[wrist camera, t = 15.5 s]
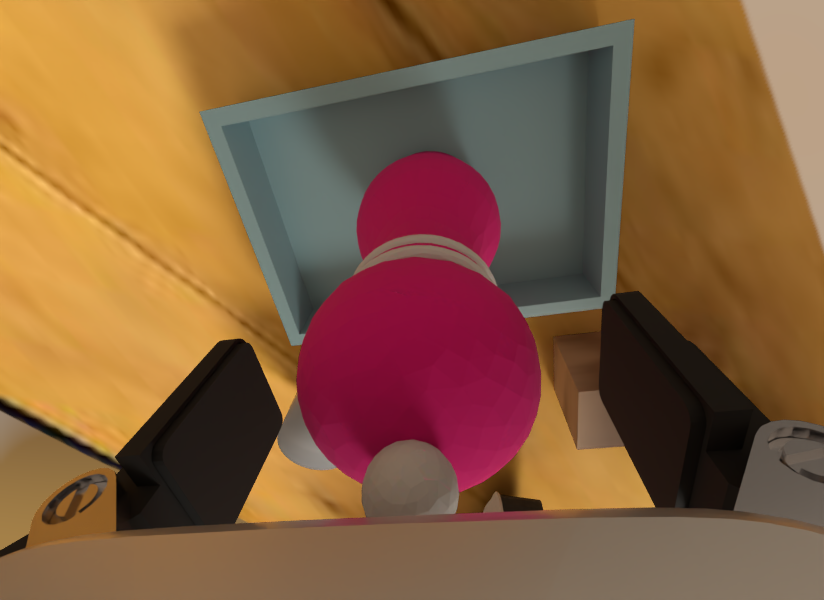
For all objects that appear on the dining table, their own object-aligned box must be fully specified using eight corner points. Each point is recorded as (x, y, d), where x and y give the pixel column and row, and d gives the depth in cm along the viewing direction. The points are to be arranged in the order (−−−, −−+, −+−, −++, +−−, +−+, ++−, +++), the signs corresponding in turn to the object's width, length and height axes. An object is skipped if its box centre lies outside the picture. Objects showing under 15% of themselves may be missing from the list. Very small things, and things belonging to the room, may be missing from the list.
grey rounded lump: (357, 357, 31) (340, 413, 26) (372, 406, 33) (360, 467, 28) (294, 364, 32) (266, 420, 26) (314, 412, 34) (291, 472, 29)
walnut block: (625, 328, 28) (667, 384, 23) (620, 382, 31) (657, 443, 25) (553, 336, 29) (578, 392, 24) (553, 388, 31) (577, 449, 26)
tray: (600, 30, 20) (634, 18, 16) (591, 277, 26) (614, 306, 23) (236, 107, 23) (199, 111, 19) (309, 314, 29) (291, 345, 26)
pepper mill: (350, 223, 25) (141, 563, 7) (408, 114, 22) (282, 256, 4) (447, 278, 26) (464, 672, 9) (514, 184, 23) (756, 508, 6)
